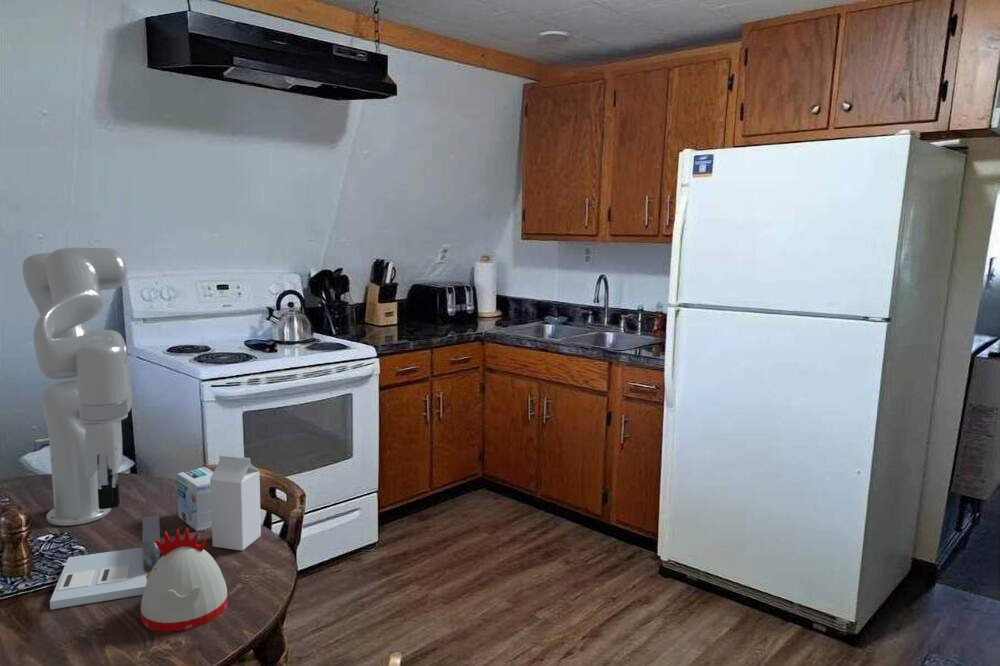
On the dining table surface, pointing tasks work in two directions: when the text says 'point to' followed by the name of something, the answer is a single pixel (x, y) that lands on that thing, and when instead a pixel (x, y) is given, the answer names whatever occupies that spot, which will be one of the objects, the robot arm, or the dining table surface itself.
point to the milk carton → (235, 503)
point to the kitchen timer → (183, 586)
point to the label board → (100, 578)
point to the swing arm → (150, 542)
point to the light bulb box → (195, 498)
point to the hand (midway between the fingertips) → (109, 506)
